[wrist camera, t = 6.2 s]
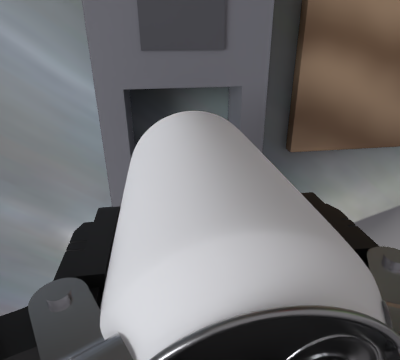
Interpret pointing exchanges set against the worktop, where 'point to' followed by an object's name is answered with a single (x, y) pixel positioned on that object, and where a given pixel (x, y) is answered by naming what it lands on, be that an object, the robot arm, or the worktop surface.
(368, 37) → the walnut board
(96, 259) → the robot arm
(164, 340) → the can
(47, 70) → the worktop surface
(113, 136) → the grey block with hole
